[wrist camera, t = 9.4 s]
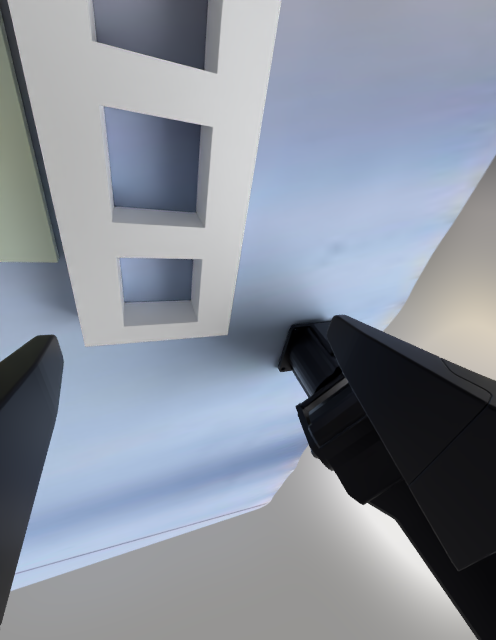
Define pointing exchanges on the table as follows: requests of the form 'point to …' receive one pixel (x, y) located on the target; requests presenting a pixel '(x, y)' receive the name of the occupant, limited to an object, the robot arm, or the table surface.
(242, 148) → the white slotted frame
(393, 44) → the table surface
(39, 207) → the pad
